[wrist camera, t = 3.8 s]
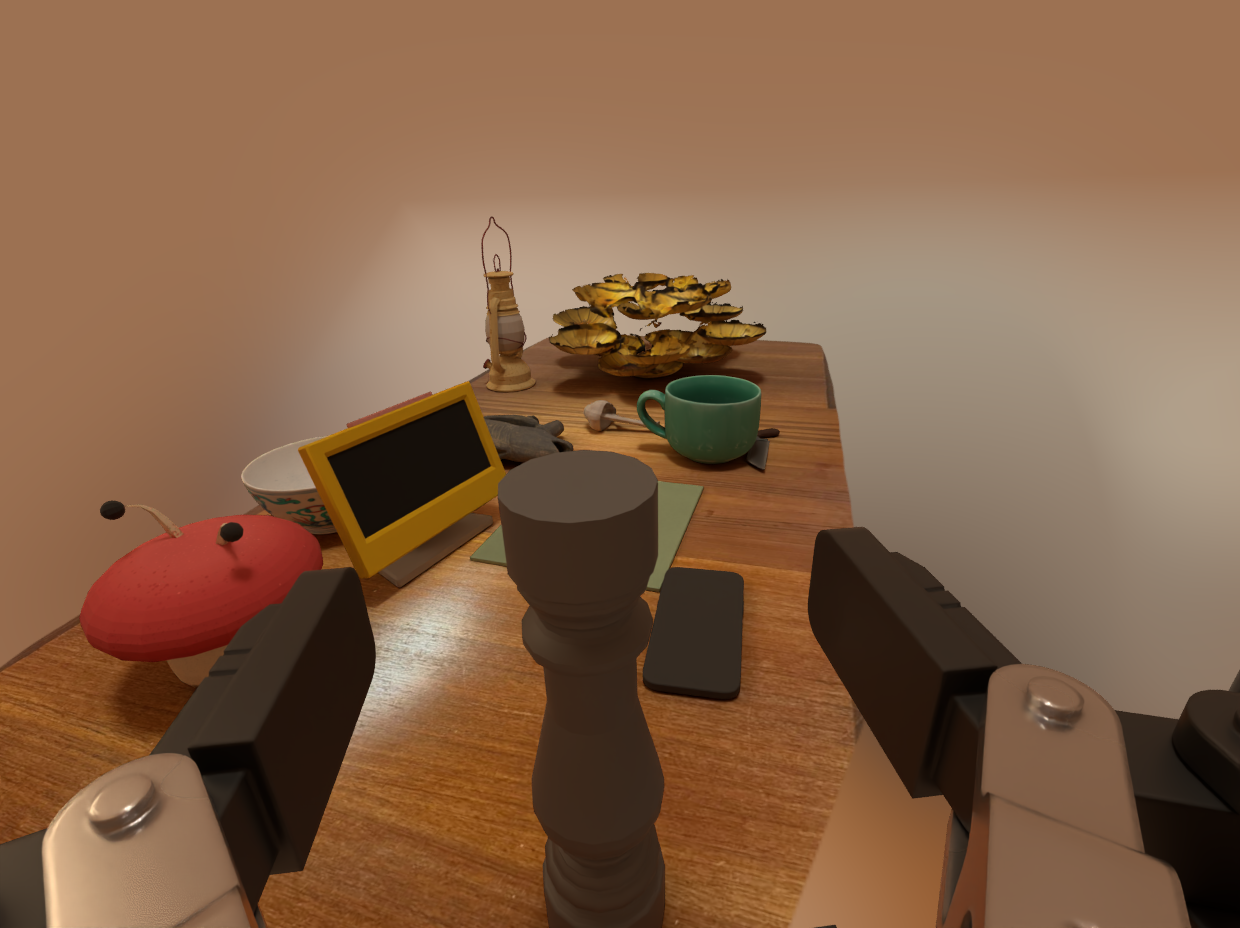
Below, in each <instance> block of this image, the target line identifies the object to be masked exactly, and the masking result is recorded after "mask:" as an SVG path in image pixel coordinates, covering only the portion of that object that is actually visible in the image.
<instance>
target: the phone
mask: <svg viewBox="0 0 1240 928" xmlns="http://www.w3.org/2000/svg"><path fill="white" fill-rule="evenodd" d="M743 590H744V580H743V578H742V576H741V575H739V574H737V573H734V572H727V571H716V570H705V569H693V568H682V567H674V568H670V569H668V570H667V571H666V573H665V576H664V580H663V583H662V589H661V592H660V596H659V601H658V605H657V611H656V615H655V619H654V624H653V628H652V632H651V637H650V641H649V646H648V650H647V654H646V659H645V663H644V667H643V682H644V684H645V685H646V686H647V687H648V688H650V689H653V690H657V691H664V692H672V693H679V694H687V695H695V696H702V697H710V698H718V699H731V698H734V697H735V696H736V695H737V694H738V693H739V690H740V678H741V649H742V619H743V605H744V601H743Z"/></svg>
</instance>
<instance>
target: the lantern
mask: <svg viewBox="0 0 1240 928" xmlns="http://www.w3.org/2000/svg"><path fill="white" fill-rule="evenodd" d="M491 218H493V217H490V219H489V226H490V220H491ZM493 220H494V218H493ZM494 223H495V220H494ZM495 225H496V226H497V227H499V226H498V225H497V224H496V223H495ZM489 226H488V228H489ZM488 228H487V229H486V231H487V230H488ZM499 228H500V229H502V228H501V227H499ZM502 230H503V229H502ZM486 231H485V232H484V235H485V233H486ZM503 231H504V230H503ZM504 232H505V231H504ZM505 233H506V232H505ZM484 235H483V238H484ZM506 235H507V238H508V241H509V237H508V234H507V233H506ZM483 238H482V260H483V266H484V270H485V265H484V258H483ZM509 248H510V241H509ZM496 255H497V254H496ZM496 255H495V256H496ZM495 256H494V259H495ZM497 257H498V255H497ZM498 259H499V258H498ZM493 262H494V261H493ZM499 266H500V259H499ZM494 267H495V262H494ZM500 269H501V268H500ZM512 275H513V273H512V272H511V248H510V272H508V271H501V270H499V269H497V271H496V268H495V272H489V273H486V270H485V274H484V277H486V282H487V288H488V281H487V277H489V278H488V280H489V283H490V284H491V290H489V288H488V291H487V305H488V306H487V307H486V308H487V309H489V310H488V313H487V318H486V329H485V331H486V336H487V339H486V342H488V343H489V345H490V348H491V361H492V363H491V362H490V360H489V359H487V360H486V362H485V363H484V366H483V367H484V368H485V369H486V368H489V369H490V373H489V374H490V381H489V382H488V383H487V388H488V389H490V390H494V391H498V392H516V391H521V390H525V389H528V388H531V387H532V386H533V385H534V384H535V380H534V379H533V378H532V377H531V373H530V368H529V367H528V365H527V364H526V363H525V362H524V361H523V360H522V359H521V357H522V353H523V345H524V343H525V342H526V335H525V332H524V325H523V321H522V318H521V316H520V314H519V312H520V311H518V308H516V307H518V305H517V304H516V301H515V297H514V292H513V286H512V278H511V276H512ZM509 276H510V277H509ZM510 278H511V279H510ZM510 280H511V286H512V289H510V288H509V282H510ZM488 297H489V298H488ZM524 335H525V342H524ZM523 342H524V343H523ZM499 354H501V355H499Z"/></svg>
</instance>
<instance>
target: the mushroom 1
mask: <svg viewBox="0 0 1240 928" xmlns="http://www.w3.org/2000/svg"><path fill="white" fill-rule="evenodd" d="M622 275H623V274H616V275H614V276H611V275H610V276H607V277H604V278H603V279H604V281H605V283H592V285H591V286H590V285H586V286H583V287H580V286H578V287H576V288H574V289H572V290H573V291H574V292H575V294H576V295H577V297H578V298H579V299H580V300H581V301H587V302H588V303H589V305H591V306H590V307H584V306H583V307H580V308H575V309H568V310H565V312H564V311H562V312H560V313H559V314H557V315H556V314H554V315H553V320H554V321H555V322H556V323H558V324H560V325H561V326H564V328H561V329H559V332H558V335H557V336H555V337H553V338H552V336H551V337H549V341H550V343H551V344H553V345H554V346H556V347H557V348H558V349H560V350H562V351H564V352H567V353H570V354H581V355H590V354H594V355H599V356H602V357H600V358H599V359H598V361H599V363H598V368H599V369H600V370H602V371H604V372H607V373H609V374H612V375H616V376H637V377H639V378H657V377H662V376H667V375H671V374H673V373H675V372H677V371H679V370H680V369H681V368H682V366H683V363H713V362H717V361H719V360H721V359H723V358H724V357H726V356H727V355H729V354H730V353H731V351H732V348H731V347H730V346H733V345H744V344H748V343H751V342H754V341H755V340H757V339H759V338H760V337H762V336H763V335H765V333H766V328H765V327H764V326H763V324H762V325H761V324H760V323H759V324H755V325H752V324H742V323H741V322H739V320H731V322H727V320H728V319H731V318H734V317H737V316H738V315H740V314H741V313H742V311H743V307H740V308H737V307H734V306H731V305H730V304H726V303H725V304H723V305H717V304H716V303H715V304H713V305H711V304H710V303H711V300H712V299H714V298H717V297H719V296H722V295H723V294H726V293H728V292H729V291H730V290H731V284H730V282H729V280H727V281H723V280H722V279H721V281H719V280H718V281H717V282H716V283H715V281H714V283H706V284H705V285H702V284H701V283H700V284H698V280H697V278H693V275H692V276H686V277H685V276H679V277H678V278H674V279H673V278H669V277H667V276H665V275H663V274H654V273H643V274H639V277H638V278H637V279H638V281H639V282H636V283H635V285H634V286H631V285H630V284H629V283H627V282H628V281H627V282H626V281H625V280H627V279H626V278H624V279H625V280H623V278H622ZM691 278H692V279H691ZM673 281H675V282H674V283H673ZM658 285H661V286H666V287H667V288H665V289H664V290H653V291H652V292H649V291H647V290H650V289H653V288H655V287H657V286H658ZM629 301H634V302H635V303H638V305H639V306H637V305H636V304H633V303H632V304H631V303H630V302H629ZM712 303H713V302H712ZM614 306H616V307H617V309H618V311H620V312H621V313H622V314H624V315H625V316H627V317H629V318H632V319H638V320H648V319H655V321H652V323H653V325H654V327H655V328H657V327H658V326H660V324H661V322H658V324H659V325H658V324H656V323H654V322H657V319H658V318H661V317H664V316H667V315H669V314H676V313H680V315H681V316H685V317H687V318H688V319H689V320H694V321H701V323H700V325H702V324H703V323H705V324H707V323H708V325H706V326H705V325H702V326H701V327H698V329H697V330H696V331H694V332H690V331H681V330H669V329H668V330H659V331H655V332H651V333H648V334H646V335H645V339H646V340H647V341H649V342H650V343H651V344H652V349H651V350H647V351H646V352H645V345H644V341H643V340H642V339H641V337H640V336H638V335H636V336H635V337H634V336H633V335H634V334H631V335H632V336H628V335H626V334H624V335H620V333H619V332H618V331H617V330H615V329H616V328H617V326H616V323H615V321H614V317H613V316H614V313H613V309H612V307H614ZM724 320H726V322H725V321H724ZM709 322H710V323H709ZM587 323H588V324H587ZM652 323H649V324H648V325H647V326H650V325H651V324H652ZM754 323H755V322H754ZM640 330H641V329H640ZM636 337H637V338H636ZM642 351H644V352H645V353H641V352H642ZM639 353H641V354H639ZM637 354H639V355H637Z"/></svg>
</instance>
